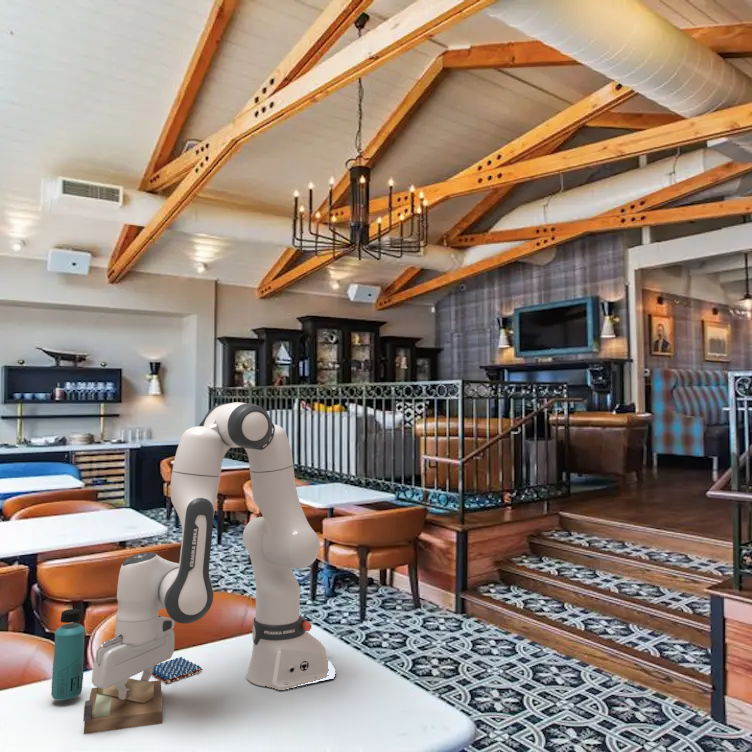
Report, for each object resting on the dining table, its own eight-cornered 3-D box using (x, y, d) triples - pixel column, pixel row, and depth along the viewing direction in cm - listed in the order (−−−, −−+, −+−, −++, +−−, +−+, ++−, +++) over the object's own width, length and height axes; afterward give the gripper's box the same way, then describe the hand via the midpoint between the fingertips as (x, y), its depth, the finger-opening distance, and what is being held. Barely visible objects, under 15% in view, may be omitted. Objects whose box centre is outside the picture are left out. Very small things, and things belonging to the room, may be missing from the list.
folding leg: (93, 692, 137) (94, 678, 138) (104, 686, 140) (105, 672, 141) (143, 703, 133) (144, 689, 133) (153, 696, 136) (154, 683, 136)
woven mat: (204, 674, 156) (204, 666, 156) (166, 687, 148) (167, 678, 148) (181, 662, 163) (181, 655, 163) (144, 675, 155) (144, 666, 155)
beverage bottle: (69, 709, 135) (74, 616, 136) (42, 705, 136) (48, 613, 138) (88, 696, 142) (93, 607, 143) (63, 692, 143) (68, 605, 144)
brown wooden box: (160, 691, 145) (161, 667, 145) (161, 723, 130) (163, 696, 130) (90, 699, 140) (91, 674, 140) (82, 734, 125) (84, 706, 125)
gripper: (108, 647, 125) (104, 716, 124) (180, 618, 144) (177, 678, 143) (86, 641, 128) (83, 709, 127) (159, 613, 146) (157, 673, 146)
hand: (133, 693), depth 135 cm, fingers open, 4 cm apart
